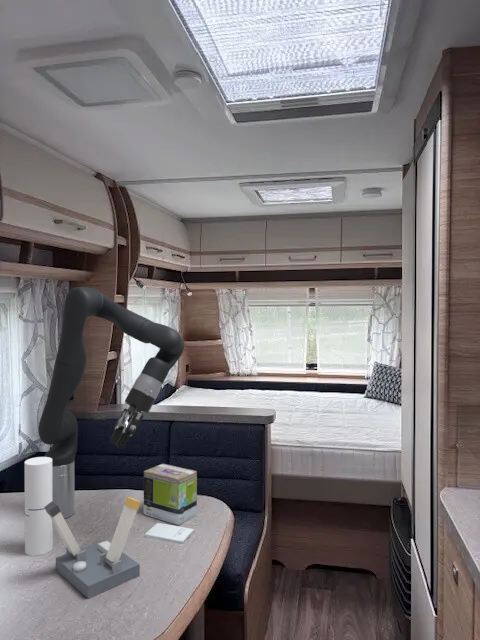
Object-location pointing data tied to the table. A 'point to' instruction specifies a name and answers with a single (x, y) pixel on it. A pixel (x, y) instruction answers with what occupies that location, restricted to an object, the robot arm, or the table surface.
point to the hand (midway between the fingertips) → (115, 445)
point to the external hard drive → (170, 533)
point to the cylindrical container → (38, 506)
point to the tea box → (170, 493)
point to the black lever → (62, 528)
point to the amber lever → (122, 530)
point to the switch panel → (96, 569)
